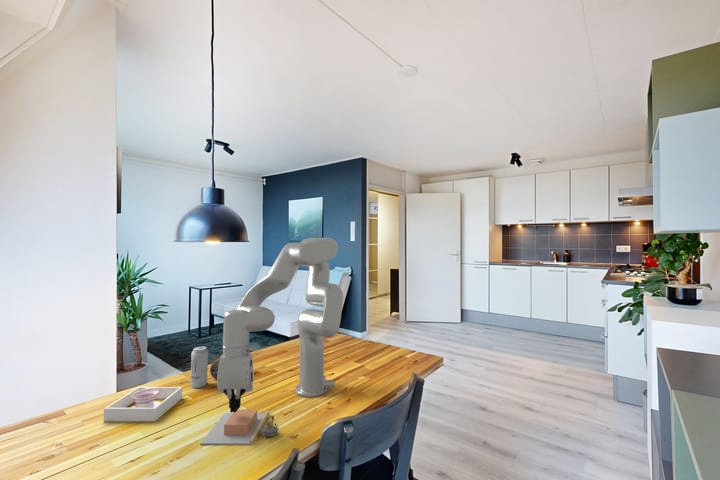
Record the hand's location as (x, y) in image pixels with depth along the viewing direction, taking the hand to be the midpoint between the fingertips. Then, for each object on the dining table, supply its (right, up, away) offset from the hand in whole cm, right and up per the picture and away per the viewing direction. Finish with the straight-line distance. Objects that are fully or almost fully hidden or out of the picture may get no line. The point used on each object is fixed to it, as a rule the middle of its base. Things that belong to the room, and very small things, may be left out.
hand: (234, 410), depth 99 cm
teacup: (-35, -6, +10) cm, 36 cm away
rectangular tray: (-35, -6, +11) cm, 37 cm away
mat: (+1, -5, 0) cm, 5 cm away
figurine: (+12, -6, -4) cm, 14 cm away
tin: (-19, -7, +40) cm, 45 cm away
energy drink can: (-26, -7, +30) cm, 41 cm away
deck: (-1, -4, 0) cm, 4 cm away
